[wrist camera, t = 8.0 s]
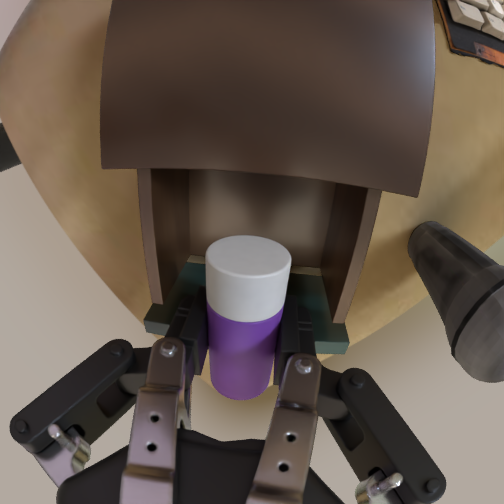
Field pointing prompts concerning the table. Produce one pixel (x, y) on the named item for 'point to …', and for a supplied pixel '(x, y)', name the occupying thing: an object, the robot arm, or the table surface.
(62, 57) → the table surface
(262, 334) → the glue stick
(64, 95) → the table surface
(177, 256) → the drawer
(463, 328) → the beverage cup
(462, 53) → the mechanical keyboard
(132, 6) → the cabinet
